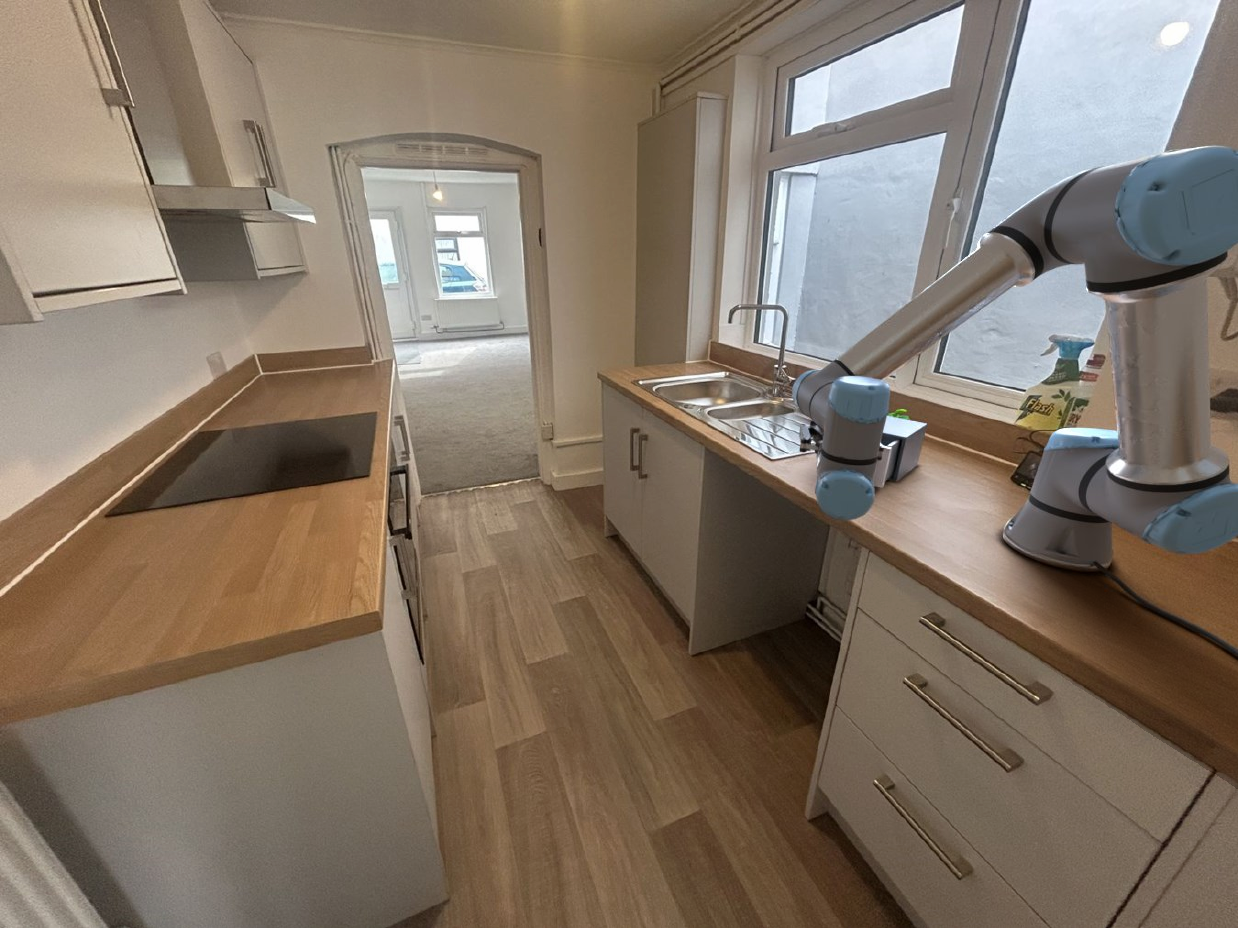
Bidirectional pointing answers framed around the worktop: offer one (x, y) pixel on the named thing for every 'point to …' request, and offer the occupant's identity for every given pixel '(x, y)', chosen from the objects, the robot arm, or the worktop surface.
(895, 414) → the bell pepper
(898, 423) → the cabinet
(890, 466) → the drawer
